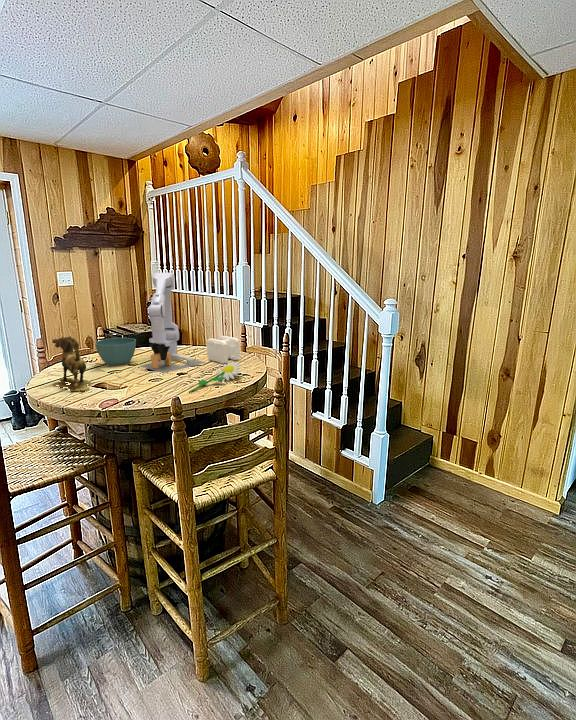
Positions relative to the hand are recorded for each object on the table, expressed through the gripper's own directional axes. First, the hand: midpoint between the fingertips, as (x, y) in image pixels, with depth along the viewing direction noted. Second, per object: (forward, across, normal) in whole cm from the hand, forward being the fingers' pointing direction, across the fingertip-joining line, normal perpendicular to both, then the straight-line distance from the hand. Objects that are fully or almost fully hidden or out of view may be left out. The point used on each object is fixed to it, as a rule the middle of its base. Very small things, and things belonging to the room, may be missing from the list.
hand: (161, 359), depth 191 cm
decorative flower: (+6, +36, +2) cm, 36 cm away
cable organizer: (+5, +9, +30) cm, 32 cm away
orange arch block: (+3, 0, 0) cm, 3 cm away
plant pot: (+5, -24, -9) cm, 26 cm away
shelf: (+5, 0, +6) cm, 8 cm away
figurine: (+5, -7, -37) cm, 38 cm away
